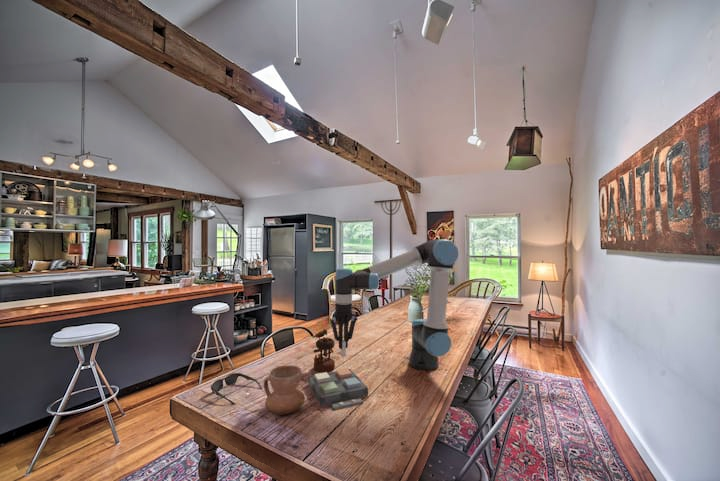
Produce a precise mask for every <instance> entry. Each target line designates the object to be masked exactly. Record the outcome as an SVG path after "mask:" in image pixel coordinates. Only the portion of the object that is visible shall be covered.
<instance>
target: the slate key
mask: <svg viewBox="0 0 720 481" xmlns="http://www.w3.org/2000/svg"><path fill="white" fill-rule="evenodd" d="M344 385H345V386H346V388H347V389H352V388H357V387H361V383H360V381H359V380H358V379H357V378H356V377H354V378H349V379H344Z"/></svg>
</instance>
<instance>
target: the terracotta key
mask: <svg viewBox="0 0 720 481" xmlns="http://www.w3.org/2000/svg"><path fill="white" fill-rule="evenodd" d="M348 369H349V368H348V367H347V368H343V369H337V370H335V372H336V375H337V376H338V378H339V379H343V378H348V377H352V373H351V372H350V371H349V370H348Z"/></svg>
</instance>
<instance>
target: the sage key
mask: <svg viewBox="0 0 720 481" xmlns="http://www.w3.org/2000/svg"><path fill="white" fill-rule="evenodd" d="M321 390H322V392H323V394H328V393H333V392H338V387H337V386H336V384H335V383H334V382H329V383H323V384H321Z"/></svg>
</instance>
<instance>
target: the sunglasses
mask: <svg viewBox="0 0 720 481" xmlns="http://www.w3.org/2000/svg"><path fill="white" fill-rule="evenodd" d="M239 377H241V378H244V379H245V380H247V381H254V382H255V383H256V384H257V385H258V387H259V389H260V390H263V387H262V386H261V384H260V381H257V379H255V378H254V377H251V376H249V375H246V374H244V373H241V372H233V373H229V374H227V376H226V377H223V378H220V379H216V380H215V381H214V382H213V383H212V384H211V386H210V390H211V392H212V393H213V394H214V395H216V396H219V397H221V398H223V399H225V400H226V401H228V402H229V403H230V404H232V405H235V406H236V405H237V403H236V402H234V401H233V400H231V399H229V398H228V397H226V396H224V395H223V394H222V393H221V392H219V391H220V390H221V389H223V387H224V382H225V385H226V386H228V387H229V386H230V387H231V385H234V384H236V383H237V381H238V378H239Z"/></svg>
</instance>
